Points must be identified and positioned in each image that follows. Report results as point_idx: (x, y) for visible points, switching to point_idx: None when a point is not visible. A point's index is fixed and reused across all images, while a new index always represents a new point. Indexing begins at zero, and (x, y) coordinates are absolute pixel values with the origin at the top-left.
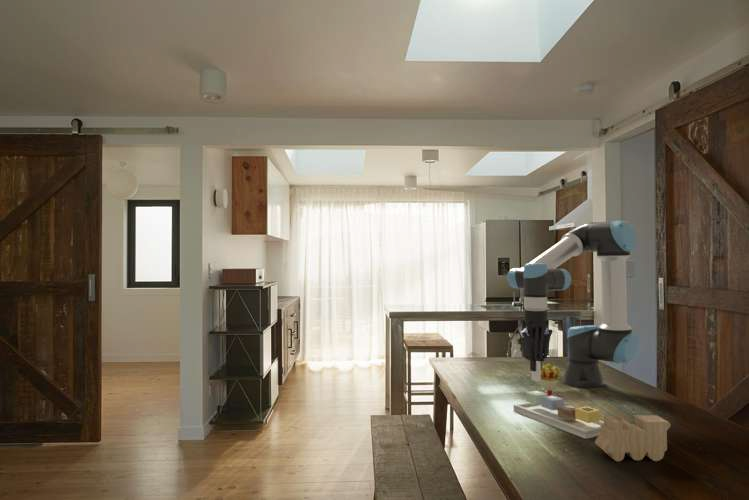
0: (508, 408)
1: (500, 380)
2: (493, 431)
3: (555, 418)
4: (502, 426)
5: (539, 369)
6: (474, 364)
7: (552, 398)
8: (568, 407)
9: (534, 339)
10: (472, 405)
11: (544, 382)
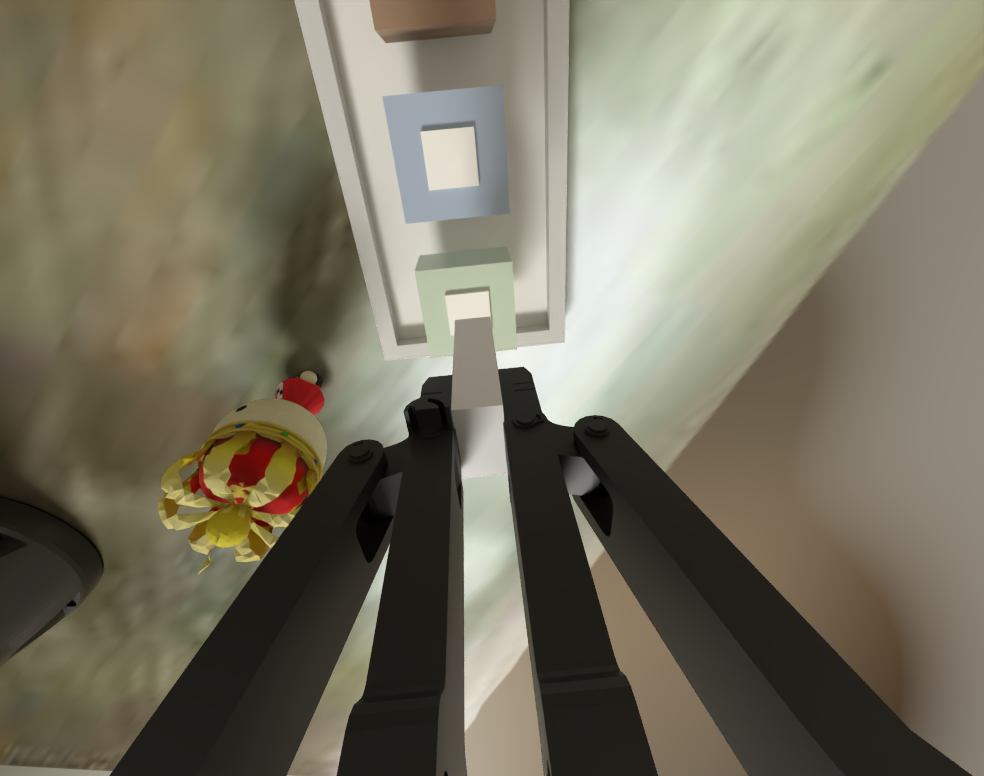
0: (552, 367)
1: (354, 630)
2: (901, 77)
3: (485, 71)
4: (793, 136)
5: (468, 364)
6: (342, 740)
7: (469, 131)
8: None
9: (633, 718)
10: (651, 443)
11: (317, 438)
